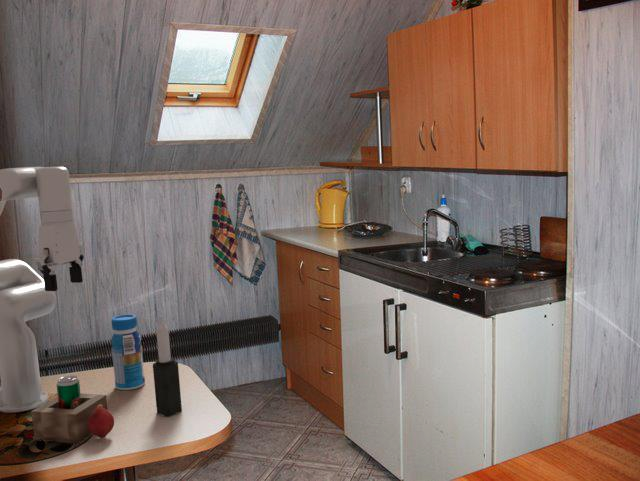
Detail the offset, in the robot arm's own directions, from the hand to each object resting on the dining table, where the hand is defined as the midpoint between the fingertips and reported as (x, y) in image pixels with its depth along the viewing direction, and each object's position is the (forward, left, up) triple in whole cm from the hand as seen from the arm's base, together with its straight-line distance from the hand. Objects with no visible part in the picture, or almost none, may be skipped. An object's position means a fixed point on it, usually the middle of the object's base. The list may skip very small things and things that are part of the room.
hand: (64, 286), depth 164 cm
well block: (+5, -9, -33) cm, 35 cm away
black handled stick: (+23, +5, -34) cm, 41 cm away
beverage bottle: (+2, +21, -34) cm, 40 cm away
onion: (+15, -11, -34) cm, 38 cm away
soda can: (+5, -9, -32) cm, 34 cm away
